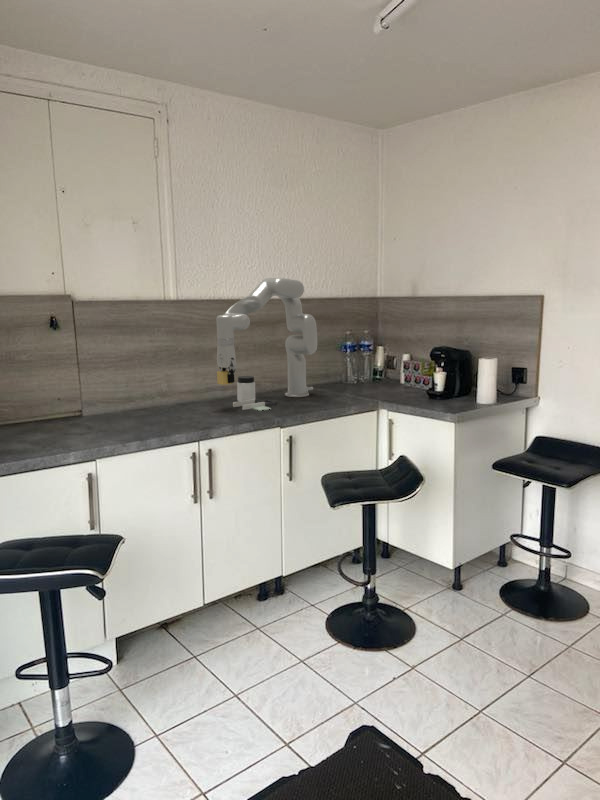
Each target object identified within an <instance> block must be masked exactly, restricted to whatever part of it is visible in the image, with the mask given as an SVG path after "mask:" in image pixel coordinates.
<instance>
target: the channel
mask: <svg viewBox="0 0 600 800" xmlns="http://www.w3.org/2000/svg"><path fill="white" fill-rule="evenodd" d="M260 406H265V402H259V403H256V398H255V399H252V400H245V401H238V400H237V401H233V402H232V407H233V408H236V407H237V408H238V407H241V409H242V411H245V410H253V409H252V408H253V407H260ZM265 407H266V406H265Z"/></svg>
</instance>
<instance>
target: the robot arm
mask: <svg viewBox="0 0 600 800" xmlns="http://www.w3.org/2000/svg"><path fill="white" fill-rule="evenodd" d="M304 292H305V286H304V284H303V283H302V281H300V280H298V279H290V278H284V277H266V278H264V279H262V281H261V282H260V283H259V284H258V285H257V286H256V287H255V288H254V289H253V290H252V291H251V292H250V294H249V295H248V296H245V297H243V298H242V299H240V300H238V301H237V302H236V303H233V305H231V306H229V308H228V309H227V311H225V312H224V314H219V315H217V316H216V320H215V321H216V337H217V338H216V339H217V348H216V366H218V368H219V371H228V374H227V376H228V383H235V373H236V372H235V371H236V370H237V356H236V350H235V332H234V331H236V330H237V331H244V330H247V329H248V328H249V327H250V325H251V319H250V317H249V315H247V314H251V313H254V312H257V311H259V310H261V309H262V308H264V306H265V305H266V304H267V303H268V302H269V301H270V300H271V299H272V298H273V297H278V298H279V299H280V300H281V302H282V303H283V305H284V309H285V310H284V311H285V318H286V319H285V322H286V328H287V331H289V332H291V333H298V334H290V335H289V336H288V337H287V338H286V339H285V342H284V343H285V345H284V346H285V351H286V357H287V358H286V359H287V392H285V393H284V396H285V397H288V398H305V397H308V396H310V393H309V391H313V390H314V387H313V386H307V361H306V357H305V355H313V354H314V353H316V352H317V349H318V343H319V342H318V329H317V327H318V326H317V321H316V319H315V317H314V316H313V315H312V314H311V313H310V314H308V313H303V306H302V301H301V299H300V298H301V297H302V296H303V295H304ZM299 333H300V334H299ZM301 333H302V334H301Z"/></svg>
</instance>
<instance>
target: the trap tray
mask: <svg viewBox="0 0 600 800" xmlns="http://www.w3.org/2000/svg"><path fill="white" fill-rule="evenodd" d="M259 402H265V407H269V406H275V405H277V401H273V400H270V399H263V400H257V401H256V400H255V403H259Z"/></svg>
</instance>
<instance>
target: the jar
mask: <svg viewBox="0 0 600 800" xmlns="http://www.w3.org/2000/svg"><path fill="white" fill-rule="evenodd" d="M236 391H237V395H236V397H237V402H238V401H245V400H252V399H255V400H256V382H255V377H254V375H240V376H237V383H236Z"/></svg>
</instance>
